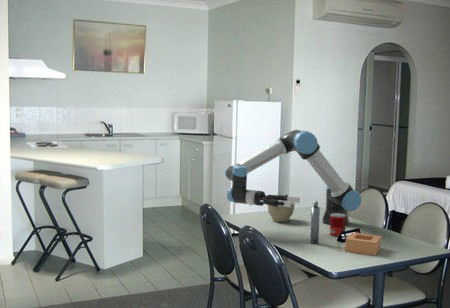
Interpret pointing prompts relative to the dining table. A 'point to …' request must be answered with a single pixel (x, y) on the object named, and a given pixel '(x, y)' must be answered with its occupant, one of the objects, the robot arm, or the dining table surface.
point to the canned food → (337, 223)
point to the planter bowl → (281, 212)
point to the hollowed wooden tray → (363, 243)
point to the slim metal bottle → (315, 223)
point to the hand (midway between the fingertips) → (295, 202)
